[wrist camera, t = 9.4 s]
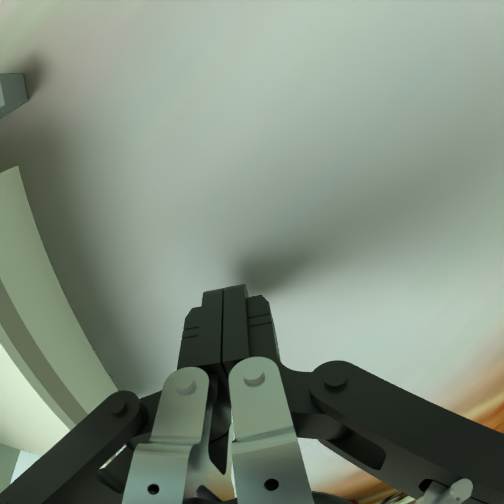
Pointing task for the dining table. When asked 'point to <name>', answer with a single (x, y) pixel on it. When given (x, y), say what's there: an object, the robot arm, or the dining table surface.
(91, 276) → the dining table surface
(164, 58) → the dining table surface
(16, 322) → the carton
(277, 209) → the dining table surface
